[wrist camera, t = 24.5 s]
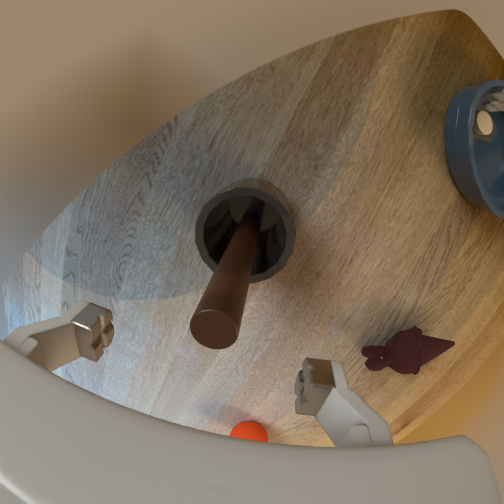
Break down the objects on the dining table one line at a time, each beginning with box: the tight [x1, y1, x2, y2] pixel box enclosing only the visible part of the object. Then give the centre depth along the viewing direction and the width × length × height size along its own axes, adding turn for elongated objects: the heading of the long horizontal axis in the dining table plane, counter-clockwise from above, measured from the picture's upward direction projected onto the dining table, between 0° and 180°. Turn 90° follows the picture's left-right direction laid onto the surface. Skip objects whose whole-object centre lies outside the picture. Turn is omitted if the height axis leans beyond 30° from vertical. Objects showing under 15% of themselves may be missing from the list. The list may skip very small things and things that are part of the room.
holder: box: [195, 178, 296, 283], centre depth 28 cm, size 9×9×8 cm
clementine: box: [230, 421, 268, 442], centre depth 42 cm, size 8×7×7 cm
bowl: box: [444, 80, 504, 220], centre depth 23 cm, size 18×18×6 cm
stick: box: [190, 214, 261, 349], centre depth 22 cm, size 2×2×20 cm
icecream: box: [361, 326, 455, 375], centre depth 33 cm, size 7×7×15 cm
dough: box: [473, 111, 493, 135], centre depth 23 cm, size 3×3×2 cm
